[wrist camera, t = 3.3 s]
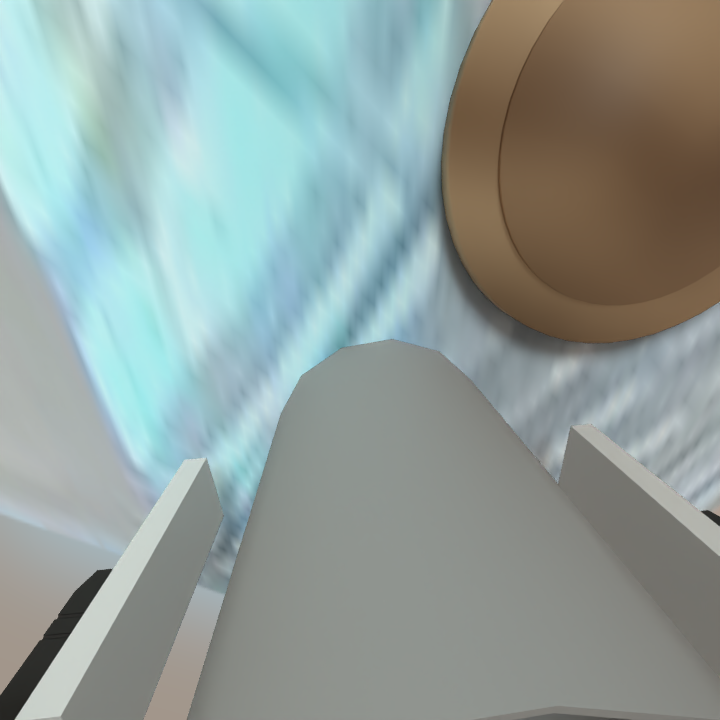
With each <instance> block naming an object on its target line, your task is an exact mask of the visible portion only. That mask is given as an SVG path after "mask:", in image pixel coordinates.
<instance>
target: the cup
mask: <svg viewBox="0 0 720 720" xmlns="http://www.w3.org/2000/svg"><path fill="white" fill-rule="evenodd" d="M187 720H720V677H719V676H718V675H717V674H716V673H715V671H714V670H713V669H712V668H711V667H710V666H709V664H708V663H707V662H706V661H705V660H704V658H703V657H702V656H701V655H700V654H699V652H698V651H697V650H696V649H695V648H694V646H693V645H692V644H691V643H690V642H689V640H688V639H687V638H686V637H685V636H684V634H683V633H682V632H681V631H680V630H679V628H678V627H677V626H676V625H675V624H674V622H673V621H672V620H671V619H670V618H669V616H668V615H667V614H666V613H665V612H664V610H663V609H662V608H661V607H660V606H659V604H658V603H657V602H656V601H655V600H654V598H653V597H652V596H651V595H650V594H649V593H648V591H647V590H646V589H645V588H644V587H643V585H642V584H641V583H640V582H639V581H638V579H637V578H636V577H635V576H634V575H633V573H632V572H631V571H630V570H629V569H628V567H627V566H626V565H625V564H624V563H623V561H622V560H621V559H620V558H619V557H618V555H617V554H616V553H615V552H614V551H613V549H612V548H611V547H610V546H609V545H608V543H607V542H606V541H605V540H604V539H603V537H602V536H601V535H600V534H599V533H598V531H597V530H596V529H595V528H594V527H593V525H592V524H591V523H590V522H589V521H588V520H587V518H586V517H585V516H584V515H583V514H582V512H581V511H580V510H579V509H578V508H577V506H576V505H575V504H574V503H573V502H572V500H571V499H570V498H569V497H568V496H567V494H566V493H565V492H564V491H563V490H562V488H561V487H560V486H559V485H558V484H557V482H556V481H555V480H554V479H553V478H552V476H551V475H550V474H549V473H548V472H547V470H546V469H545V468H544V467H543V466H542V464H541V463H540V462H539V461H538V460H537V458H536V457H535V456H534V455H533V454H532V452H531V451H530V450H529V449H528V448H527V446H526V445H525V444H524V443H523V442H522V441H521V439H520V438H519V437H518V436H517V435H516V433H515V432H514V431H513V430H512V429H511V427H510V426H509V425H508V424H507V423H506V421H505V420H504V419H503V418H502V417H501V415H500V414H499V413H498V412H497V411H496V409H495V408H494V407H493V406H492V405H491V403H490V402H489V401H488V400H487V399H486V397H485V396H484V395H483V394H482V393H481V391H480V390H479V389H478V388H477V387H476V385H475V384H474V383H473V382H472V381H471V380H470V379H469V378H468V377H467V376H466V375H465V374H464V373H462V372H461V371H460V370H459V369H458V368H457V367H456V366H455V365H454V364H453V363H451V362H450V361H449V360H448V359H447V358H446V357H445V356H444V355H443V354H442V353H440V352H439V351H436V350H432V349H428V348H424V347H420V346H417V345H413V344H409V343H405V342H401V341H398V340H394V339H389V340H384V341H378V342H372V343H367V344H361V345H355V346H350V347H344V348H341V349H339V350H338V351H336V352H335V353H334V354H332V355H331V356H329V357H328V358H326V359H325V360H323V361H322V362H320V363H319V364H318V365H316V366H315V367H313V368H312V369H310V370H309V371H307V372H306V373H305V374H303V375H302V376H301V377H300V379H299V381H298V383H297V385H296V387H295V388H294V390H293V392H292V394H291V396H290V398H289V400H288V402H287V403H286V405H285V407H284V409H283V411H282V413H281V415H280V418H279V421H278V425H277V428H276V431H275V435H274V438H273V441H272V444H271V448H270V451H269V454H268V457H267V461H266V464H265V467H264V470H263V474H262V477H261V480H260V483H259V487H258V490H257V493H256V496H255V500H254V503H253V506H252V509H251V513H250V516H249V519H248V522H247V526H246V529H245V532H244V535H243V539H242V542H241V545H240V548H239V552H238V555H237V558H236V561H235V565H234V568H233V571H232V574H231V578H230V581H229V584H228V587H227V591H226V594H225V597H224V600H223V604H222V607H221V610H220V613H219V617H218V620H217V623H216V627H215V630H214V633H213V636H212V640H211V643H210V646H209V649H208V652H207V656H206V659H205V662H204V665H203V669H202V672H201V675H200V678H199V682H198V685H197V688H196V691H195V695H194V698H193V701H192V704H191V708H190V711H189V714H188V717H187Z"/></svg>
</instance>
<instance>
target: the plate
mask: <svg viewBox="0 0 720 720" xmlns="http://www.w3.org/2000/svg"><path fill="white" fill-rule="evenodd" d="M441 168H442V194H443V200H444V207H445V214H446V219H447V223H448V227H449V230H450V234H451V237H452V241H453V244H454V246H455V248H456V250H457V253H458V255H459V257H460V260H461V262H462V264H463V266H464V267H465V269H466V271H467V272H468V274H469V275H470V277H471V279H472V280H473V282H474V283H475V284H476V286H477V287H478V288H479V289H480V290H481V291H482V293H483V294H484V295H485V296H486V297H487V298H488V299H489V300H490V301H491V302H492V303H493V304H494V305H496V306H497V307H498V308H499V309H500V310H501V311H503V312H504V313H506V314H508V315H509V316H511V317H512V318H514V319H515V320H517V321H519V322H521V323H522V324H524V325H526V326H528V327H530V328H532V329H534V330H536V331H539V332H541V333H543V334H546V335H548V336H552V337H556V338H559V339H563V340H567V341H574V342H583V343H612V342H619V341H626V340H632V339H636V338H640V337H644V336H648V335H651V334H655V333H657V332H660V331H663V330H665V329H668V328H671V327H673V326H676V325H678V324H680V323H682V322H684V321H686V320H688V319H690V318H692V317H694V316H696V315H698V314H700V313H702V312H703V311H705V310H707V309H708V308H710V307H712V306H713V305H715V304H717V303H718V302H720V0H492V1H491V3H490V5H489V7H488V8H487V10H486V12H485V14H484V16H483V18H482V19H481V21H480V23H479V25H478V27H477V29H476V30H475V32H474V35H473V37H472V39H471V42H470V44H469V47H468V49H467V51H466V54H465V56H464V59H463V61H462V63H461V66H460V69H459V72H458V75H457V79H456V82H455V85H454V89H453V92H452V95H451V98H450V103H449V108H448V113H447V119H446V124H445V129H444V137H443V149H442V161H441Z"/></svg>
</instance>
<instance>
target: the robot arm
mask: <svg viewBox="0 0 720 720" xmlns="http://www.w3.org/2000/svg"><path fill="white" fill-rule="evenodd" d="M558 485H559V486H560V487H561V488H562V490H563V491H564V492H565V493H566V494H567V496H568V497H569V498H570V499H571V500H572V502H573V503H574V504H575V505H576V506H577V508H578V509H579V510H580V511H581V512H582V514H583V515H584V516H585V517H586V518H587V520H588V521H589V522H590V523H591V524H592V525H593V527H594V528H595V529H596V530H597V531H598V533H599V534H600V535H601V536H602V537H603V539H604V540H605V541H606V542H607V543H608V545H609V546H610V547H611V548H612V549H613V551H614V552H615V553H616V554H617V555H618V557H619V558H620V559H621V560H622V561H623V563H624V564H625V565H626V566H627V567H628V569H629V570H630V571H631V572H632V573H633V575H634V576H635V577H636V578H637V579H638V581H639V582H640V583H641V584H642V585H643V587H644V588H645V589H646V590H647V591H648V593H649V594H650V595H651V596H652V597H653V598H654V600H655V601H656V602H657V603H658V604H659V606H660V607H661V608H662V609H663V610H664V612H665V613H666V614H667V615H668V616H669V618H670V619H671V620H672V621H673V622H674V624H675V625H676V626H677V627H678V628H679V630H680V631H681V632H682V633H683V634H684V636H685V637H686V638H687V639H688V640H689V642H690V643H691V644H692V645H693V646H694V648H695V649H696V650H697V651H698V652H699V654H700V655H701V656H702V657H703V658H704V660H705V661H706V662H707V663H708V664H709V666H710V667H711V668H712V669H713V670H714V671H715V673H716V674H717V675H718V676H719V677H720V517H719V516H717V515H716V514H714V513H712V512H710V511H708V510H707V511H699V510H698V509H697V508H696V507H694V506H693V505H692V504H691V503H689V502H688V501H687V500H686V499H684V498H683V497H682V496H681V495H679V494H678V493H677V492H676V491H674V490H673V489H672V488H671V487H669V486H668V485H667V484H666V483H664V482H663V481H662V480H661V479H659V478H658V477H657V476H656V475H654V474H653V473H652V472H651V471H649V470H648V469H647V468H646V467H644V466H643V465H642V464H641V463H639V462H638V461H637V460H636V459H634V458H633V457H632V456H631V455H629V454H628V453H627V452H626V451H624V450H623V449H622V448H621V447H619V446H618V445H617V444H616V443H614V442H613V441H612V440H611V439H609V438H608V437H607V436H606V435H604V434H603V433H602V432H601V431H599V430H598V429H597V428H596V427H594V426H593V425H592V424H587V425H575V426H571V427H570V432H569V436H568V441H567V446H566V450H565V455H564V460H563V464H562V469H561V474H560V478H559V483H558ZM223 517H224V515H223V511H222V508H221V505H220V501H219V498H218V494H217V491H216V488H215V484H214V481H213V478H212V474H211V471H210V468H209V464H208V461H207V458H199V459H187V460H184V461H183V463H182V464H181V466H180V468H179V469H178V471H177V472H176V474H175V475H174V477H173V478H172V480H171V481H170V483H169V484H168V486H167V487H166V489H165V490H164V492H163V494H162V495H161V497H160V498H159V500H158V501H157V503H156V504H155V506H154V507H153V509H152V510H151V512H150V513H149V515H148V516H147V518H146V520H145V521H144V523H143V524H142V526H141V527H140V529H139V530H138V532H137V533H136V535H135V536H134V538H133V539H132V541H131V543H130V544H129V546H128V547H127V549H126V550H125V552H124V553H123V555H122V556H121V558H120V559H119V561H118V562H117V564H116V565H115V567H114V569H106V570H97V571H96V572H95V573H94V574H93V575H92V576H91V577H90V578H89V579H88V580H87V581H85V582H84V584H82V585H81V586H80V587H79V588H78V589H77V590H76V591H75V592H74V594H73V595H72V596H71V598H70V599H69V600H68V602H67V603H66V605H65V606H64V608H63V609H62V610H61V612H60V613H59V614H58V618H57V619H56V620H54V621H53V623H52V624H51V626H50V627H49V628H48V630H47V631H46V633H45V634H44V638H43V639H42V640H40V641H39V642H38V644H37V645H36V647H35V648H34V649H33V651H32V652H31V654H30V655H29V656H28V658H27V659H26V660H25V662H24V663H23V665H22V666H21V667H20V669H19V670H18V672H17V673H16V674H15V676H14V677H13V679H12V680H11V681H10V683H9V684H8V686H7V687H6V688H5V690H4V691H3V693H2V694H1V695H0V720H143V719H144V716H145V714H146V712H147V709H148V707H149V704H150V702H151V699H152V697H153V694H154V691H155V689H156V686H157V684H158V681H159V679H160V676H161V674H162V671H163V668H164V666H165V664H166V661H167V658H168V656H169V653H170V651H171V648H172V646H173V643H174V641H175V638H176V635H177V633H178V631H179V628H180V626H181V623H182V620H183V618H184V615H185V613H186V610H187V608H188V605H189V603H190V600H191V598H192V595H193V593H194V590H195V588H196V585H197V582H198V580H199V577H200V575H201V572H202V570H203V567H204V565H205V562H206V560H207V557H208V555H209V552H210V550H211V547H212V544H213V542H214V539H215V537H216V534H217V532H218V529H219V527H220V524H221V522H222V519H223Z"/></svg>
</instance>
